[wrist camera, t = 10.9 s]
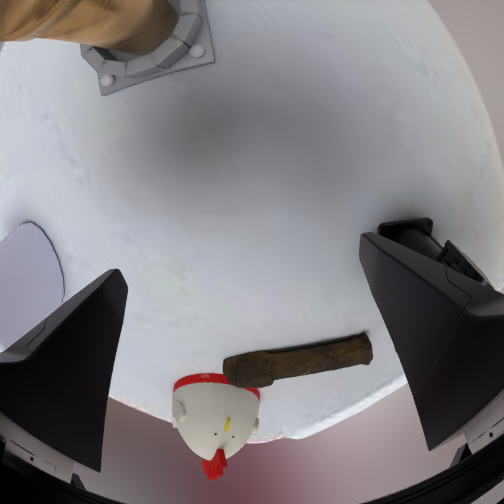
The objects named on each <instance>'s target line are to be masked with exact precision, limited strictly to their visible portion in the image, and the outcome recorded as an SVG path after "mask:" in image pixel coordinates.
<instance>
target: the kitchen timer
mask: <svg viewBox="0 0 504 504" xmlns="http://www.w3.org/2000/svg"><path fill="white" fill-rule="evenodd" d="M259 403H260V398H259V391H258V389H257V388H256V387H255V388H250V387H249V388H237V387H235V386H234V385H231V384H230V383H229V382H228V381H227V379H226V376H225V375H224V374H215V373H203V374H194V375H189V376H186V377H184V378H181V379H179V380H178V381H177V382H176V383H175V385H174V391H173V397H172V404H173V405H172V416H173V427H174V428H175V427H178V430H179V432H180V434H181V436H182V437H183V439H184V440H185V442H186V444H187V445H188V446H189V447H190V448H191V449H192V450H193V451H194V452H195V453H196V454H197V455H199V456H201V457H202V458H204V460H203V465H202V468H203V469H205V474H208V479H212V480H214V478H216V479H218V476H223V467H227V462H226V458H229V457H230V456H232V455H233V454H235V453H236V452H237V451H238V450H239V449H241V448H242V447H243V445H244V444H245V443H246V442H247V440H248V439H249V437H250V435H251V434H254V435H256V434H257V431H258V424H259V419H258V418H257V416H258V411H259Z"/></svg>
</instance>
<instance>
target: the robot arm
mask: <svg viewBox="0 0 504 504" xmlns="http://www.w3.org/2000/svg"><path fill="white" fill-rule="evenodd" d="M428 223H429V224H428ZM432 226H433V221H432V220H431V219H430V218H425V219H417V220H409V221H401V222H393V223H385V224H381V225H380V226H379V228H378V234H376V233H373V232H367V233H362V234H361V237H360V249H359V257H360V261H361V264H362V267H363V269H364V272H365V275H366V278H367V281H368V284H369V287H370V290H371V293H372V295H373V297H374V300H375V302H376V304H377V306H378V309H379V311H380V313H381V315H382V318H383V320H384V322H385V325H386V327H387V329H388V332H389V334H390V336H391V339H392V341H393V344H394V347H395V351H396V353H397V354H398V357H399V359H400V362H401V364H402V367H403V370H404V373H405V375H406V378H407V381H408V384H409V387H410V389H411V392H412V395H413V399H414V402H415V405H416V408H417V411H418V415H419V417H420V421H421V424H422V428H423V432H424V435H425V439H426V443H427V446H428V449H429V451H431V450H434V449H436V448H438V447H440V446H442V445H444V444H446V443H448V442H450V441H452V440H454V439H455V438H457V437H459V436H461V435H463V434H465V437H466V440H467V443H466V444H465V445H463V446H461V447H460V448H458V450H457V452H456V454H455V457H454V459H453V461H452V463H451V466H450V467H449V468H448V469H446V470H444V471H442V472H440V473H438V474H436V475H434V476H432V477H430V478H428V479H426V480H424V481H421V482H419V483H417V484H415V485H412V486H410V487H407V488H405V489H402V490H400V491H397V492H395V493H392V494H389V495H386V496H383V497H380V498H377V499H374V500H371V501H367V502H364V503H360V504H504V294H502V293H500V292H498V291H496V290H494V287H493V286H492V284H491V283H490V281H489V280H488V279H487V277H486V276H485V274H484V273H483V272H482V271H481V270H480V269H479V268H478V267H477V265H476V264H475V263H474V262H473V261H472V260H471V259H470V258H469V257H468V256H467V255H465V254H464V253H463V252H462V251H461V250H460V249H459V248H457V247H456V246H455V245H454V244H453V243H452V242H450V241H449V240H447V241H446V243H445V246H444V247H442V246H441V245H440V244H439V243H438V242H437V241H436V240H435V239H434V238H433V237H432V236H431V232H432ZM384 228H385V230H383V229H384ZM382 230H383V231H382ZM127 294H128V286H127V283H126V281H125V279H124V277H123V275H122V273H121V271H120V270H119V269H110V270H108V271H106V272H105V273H104V274H102V275H101V276H100V277H98V278H97V279H95V280H94V281H93V282H91V283H90V284H89V285H87V286H86V287H85V288H83V289H82V290H81V291H79V292H78V293H77V294H75V295H74V296H73V297H71V298H70V299H69V300H68V301H66V302H65V303H64V304H62V305H61V306H60V307H59V308H57V309H56V310H55V311H54V312H52V313H51V314H50V315H49V316H48V317H46V318H45V319H44V320H43V321H41V322H40V323H39V324H38V325H36V326H35V327H34V328H33V329H31V330H30V331H29V332H28V333H26V334H25V335H24V336H22V337H21V338H20V339H19V340H17V341H16V342H15V343H13V344H12V345H11V346H10V347H8V348H7V349H6V350H4V351H3V352H1V353H0V504H126V503H123V502H120V501H116V500H113V499H110V498H107V497H104V496H101V495H98V494H95V493H93V492H90V491H87V490H86V489H85V487H84V485H83V483H82V482H81V480H80V478H79V476H78V475H77V474H74V473H73V468H74V464H76V465H78V466H81V467H83V468H86V469H89V470H92V471H96V472H98V473H100V471H101V458H102V444H103V434H104V425H105V423H104V421H105V416H106V408H107V401H108V395H109V389H110V383H111V377H112V372H113V367H114V362H115V357H116V352H117V347H118V343H119V338H120V334H121V330H122V325H123V320H124V313H125V307H126V300H127Z"/></svg>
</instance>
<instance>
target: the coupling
mask: <svg viewBox="0 0 504 504" xmlns="http://www.w3.org/2000/svg"><path fill="white" fill-rule="evenodd" d="M177 23H178V15H177V12H176V10H175V8H174V7H173V6H172V5H171V4H170V3H169V1H168V0H0V41H28V40H32V39H34V38H46V39H55V40H62V41H69V42H75V43H81V44H87V45H92V46H97V47H101V48H106V49H110V50H114V51H118V52H122V53H126V54H130V55H136V56H140V55H147V54H150V53H153V52H154V51H155V50H156V49H157V48H158V47H159V46H160V45H161V44H163V43H164V42H165V41H166V40H167V39H168V38H170V37H171V36H172V34H173V31H174V29H175V27H176V25H177Z"/></svg>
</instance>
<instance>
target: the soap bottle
mask: <svg viewBox="0 0 504 504" xmlns="http://www.w3.org/2000/svg"><path fill="white" fill-rule="evenodd" d="M63 295H64V288H63V276H62V273H61V269H60V265H59V261H58V258H57V256H56V254H55V252H54V250H53V247H52V245H51V243H50V241H49V240H48V238H47V237H46V236H45V234H44V233H43V231H42V230H41V229H40V228H39V227H37V226H36V225H34V224H33V223H25V224H21V225H19V226H18V227H17V228H16V229H15V230H14V231H13V232H11V233H10V234H9V235H8V236H7V237H6V238H5V239H4V240H3V241H2V242H1V243H0V353H1V352H3V351H4V350H6V349H7V348H8V347H10V346H11V345H12V344H13V343H15V342H16V341H17V340H19V339H20V338H21V337H22V336H24V335H25V334H26V333H28V332H29V331H30V330H31V329H33V328H34V327H35V326H36V325H38V324H39V323H40V322H41V321H43V320H44V319H45V318H46V317H48V316H49V315H50V314H51V313H52V312H54V311H55V310H56V309H57V308H59V307H60V305H61V302H62V299H63Z"/></svg>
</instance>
